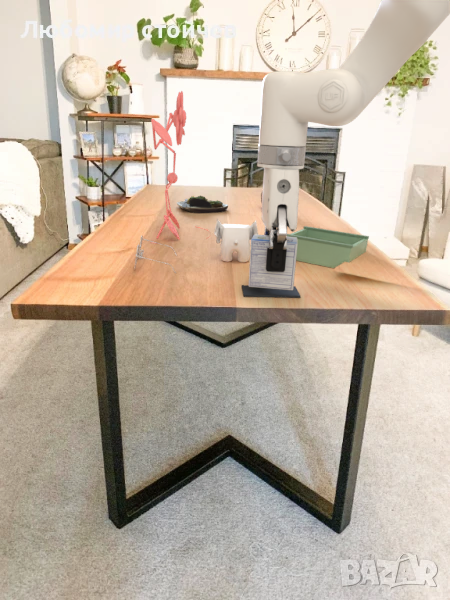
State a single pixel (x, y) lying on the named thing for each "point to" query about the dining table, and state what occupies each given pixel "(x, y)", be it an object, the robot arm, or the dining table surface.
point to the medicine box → (258, 265)
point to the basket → (328, 246)
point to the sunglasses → (143, 252)
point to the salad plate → (202, 205)
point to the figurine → (179, 123)
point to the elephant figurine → (235, 240)
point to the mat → (269, 292)
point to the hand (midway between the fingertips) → (272, 265)
